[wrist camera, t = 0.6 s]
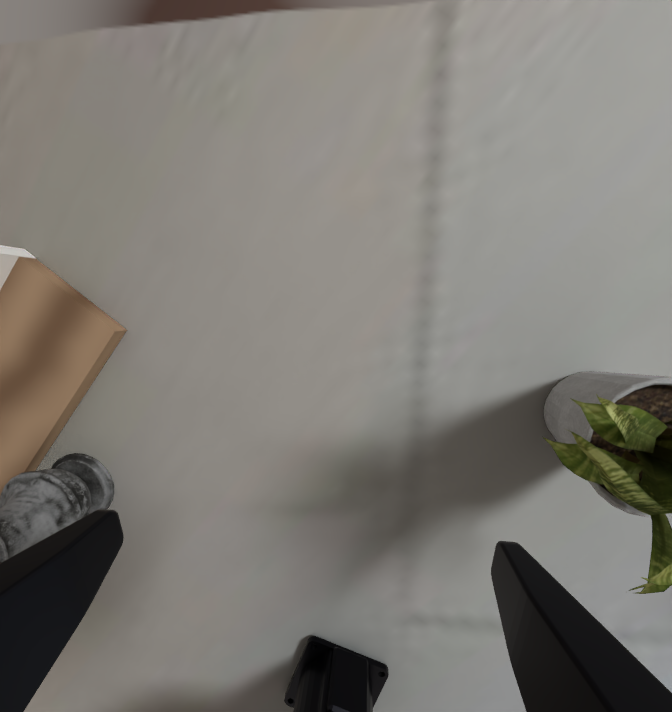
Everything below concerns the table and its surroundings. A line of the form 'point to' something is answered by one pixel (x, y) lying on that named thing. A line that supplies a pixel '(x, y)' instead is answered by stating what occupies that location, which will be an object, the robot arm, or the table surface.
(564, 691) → the robot arm
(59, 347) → the shelf board
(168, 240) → the table surface
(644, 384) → the house plant
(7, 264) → the rail
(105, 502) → the grey chess piece
